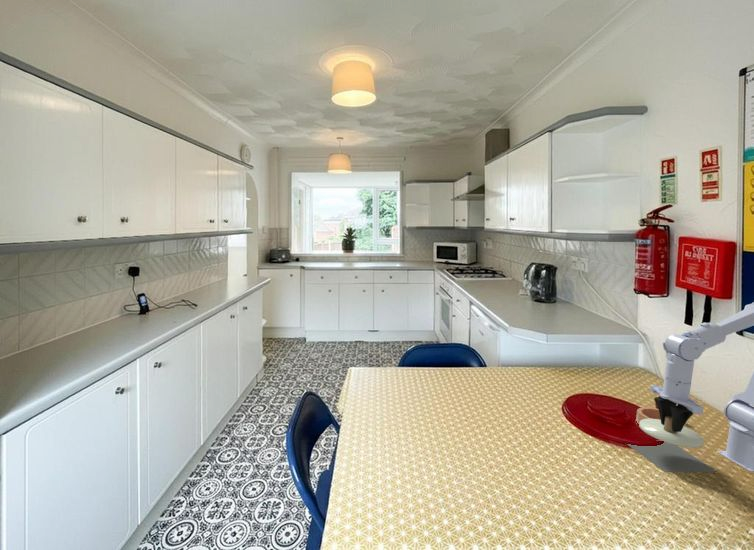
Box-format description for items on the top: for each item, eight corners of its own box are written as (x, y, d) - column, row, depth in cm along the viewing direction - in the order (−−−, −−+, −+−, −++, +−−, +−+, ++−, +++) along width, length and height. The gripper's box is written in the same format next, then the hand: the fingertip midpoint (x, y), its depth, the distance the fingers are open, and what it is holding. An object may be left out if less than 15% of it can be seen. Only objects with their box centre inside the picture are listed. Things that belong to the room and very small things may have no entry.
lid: (717, 447, 99) (720, 431, 99) (668, 447, 98) (670, 431, 98) (671, 421, 113) (673, 407, 113) (627, 420, 112) (629, 406, 111)
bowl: (693, 439, 117) (695, 425, 117) (656, 439, 116) (658, 425, 115) (660, 420, 129) (662, 407, 128) (627, 420, 128) (628, 407, 127)
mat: (717, 473, 100) (717, 471, 100) (664, 473, 98) (664, 471, 98) (668, 442, 115) (668, 440, 114) (621, 441, 113) (621, 440, 113)
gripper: (642, 369, 111) (637, 415, 112) (688, 390, 97) (680, 441, 98) (665, 370, 112) (659, 415, 113) (713, 390, 97) (706, 441, 99)
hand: (670, 427), depth 106 cm, fingers closed on lid, 3 cm apart
